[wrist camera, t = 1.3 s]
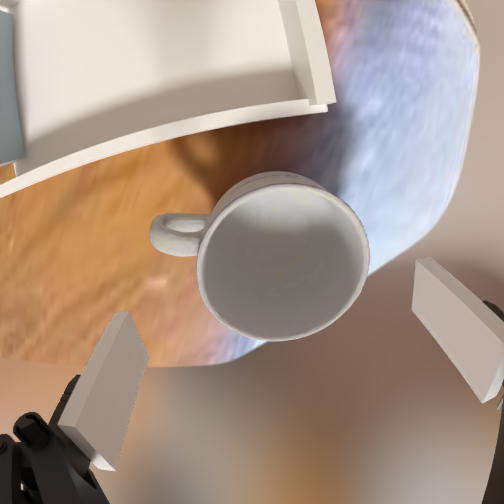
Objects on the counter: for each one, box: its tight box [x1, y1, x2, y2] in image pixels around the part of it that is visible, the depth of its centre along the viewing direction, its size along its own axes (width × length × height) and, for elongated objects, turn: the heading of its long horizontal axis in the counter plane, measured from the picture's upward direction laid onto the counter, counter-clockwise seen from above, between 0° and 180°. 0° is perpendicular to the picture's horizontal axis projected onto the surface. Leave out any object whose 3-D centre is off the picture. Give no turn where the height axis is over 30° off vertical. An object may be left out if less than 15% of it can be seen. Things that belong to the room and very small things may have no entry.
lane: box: [0, 0, 336, 198], centre depth 16 cm, size 33×20×6 cm, turn 100°
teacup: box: [149, 171, 370, 341], centre depth 22 cm, size 14×11×8 cm
